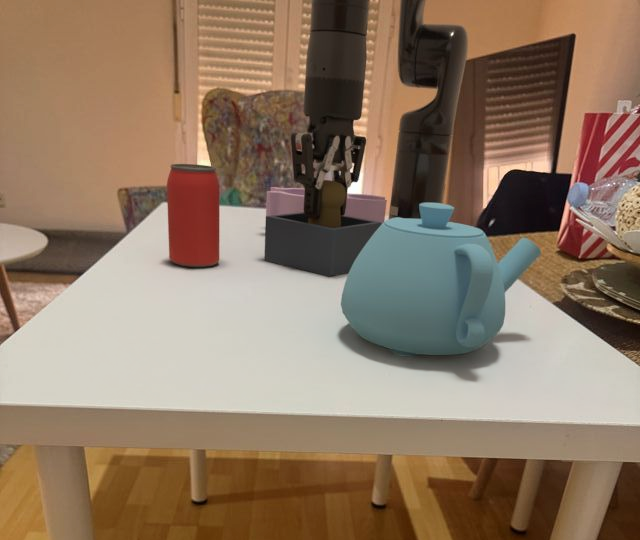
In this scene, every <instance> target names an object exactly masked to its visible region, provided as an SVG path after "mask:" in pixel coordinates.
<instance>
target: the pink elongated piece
mask: <svg viewBox="0 0 640 540" xmlns="http://www.w3.org/2000/svg"><path fill="white" fill-rule="evenodd" d="M304 194H305V188H304V187H277V186H270V190H268V191H266V202H265V203H266V204H265V217H266V216H272V215H281V214H290V213H300V212H304ZM387 202H388V201H387V199H386V197H385V196H380V195H374V194H363V193H348V192H347V202H346V209H345V214H344V215H343V216H349V217H354V218H360V219H365V220H371V221H376V222H381V223H384V222H385V221H386V220H385V219H386V210H387V204H388V203H387Z"/></svg>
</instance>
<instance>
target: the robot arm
mask: <svg viewBox="0 0 640 540" xmlns="http://www.w3.org/2000/svg"><path fill="white" fill-rule="evenodd" d="M370 1H371V0H311V3H310V4H311V5H310V21H309V22H310V24H309V25H310V26H309V39H308V43H307V50H306V61H305V77H304V78H305V79H304V97H303V114H304V115H305V116H306V117H308V118H309V121H308V125H307V128H306V131H305V132H292V133H291V135H290V146H291V159H292V172H293V174H292V175H293V180H294V182H295V183H298V184H300V185H302V188H305V194H304V215H305V217H307V218H312V219H318V218H319V217H320V211H321V197H322V190H320V189H321V187H322V184H323V180H325V176H326V174H328V173H329V172H330V175H331V181H335V182H338V183H340V184H342V185H343V186H344V188H345V193H346V195H345V201H344V203H343V205H342V206H341V207H340V212H341V216H343V215H344V214H345V209H346V202H347V193H348V189H349V188H351V186H352V184H353V183H358V181H359V180H360V176H361V175H360V174H361V171H362V170H361V169H362V165H363V161H364V156H365V151H366V146H367V137H366V136H361V135H356V134H355V130H354V121H359V120H360V119H361V118H362V114H363V104H364V91H365V80H366V70H367V59H368V57H367V56H368V55H367V54H368V53H367V36H368V25H369V13H370V3H371V2H370ZM426 1H427V0H400V1H399V2H400V3H399V18H398V19H399V20H398V35H397V74H398V78H399V81H400V83H401V85H402V86H404V87H406V88H411V89H423V90H437V91H436V94H435V96H434V98H433V99H432V100H431V101H429V102H428V103H426V104H425V105H423V106H421V107H419V108H416V109H413V110H409V111H406V112H404V113H403V114H402V115H401V116H400V118H399V125H398V127H399V128H398V135H397V143H396V144H397V145H396V152H395V161H394V171H393V176H392V177H393V178H392V186H391V195H390V204H389V209H388V210H389V211H388V219H387V220H389V219H391V218H396V217H399V218H411V219H421V215H420V210H419V204H421V203H441V204H444V196H445V190H446V179H447V173H448V172H447V171H448V166H449V160H450V152H451V145H452V139H453V134H454V127H455V121H456V118H457V117H456V116H457V112H458V111H457V110H458V104H459V98H460V92H461V88H462V84H463V77H464V73H465V69H466V65H467V64H466V63H467V58H468V49H469V37H468V33H467V30H466V28H465V27H464V26H463V25H460V24H446V23H445V24H444V23H443V24H442V23H425V22H424V15H425V14H424V13H425V7H426ZM302 165H303V166H304V172H303V167H302ZM351 169H352V172H351ZM315 172H316V173H315ZM315 174H316V175H315Z"/></svg>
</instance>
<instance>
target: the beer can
mask: <svg viewBox="0 0 640 540" xmlns="http://www.w3.org/2000/svg"><path fill="white" fill-rule="evenodd" d="M166 200H167V201H166V202H167V229H168V259H169V260H170V261H171V262H172V263H174V264H175V265H178V266H181V267H187V268H209V267H213V266H215V265H216V264H218V263H219V261H220V183H219V179H218V176H217V173H216V167H214V166H212V165H204V164H193V163H173V164H171V165H170V171H169V174H168V176H167V181H166Z"/></svg>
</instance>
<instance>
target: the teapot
mask: <svg viewBox="0 0 640 540" xmlns="http://www.w3.org/2000/svg"><path fill="white" fill-rule="evenodd" d="M419 210H420V215H421V219H411V218H399V217H396V218H391V219H389V218H388V219H389V220H388V219H387V220H384V223H382V225H381V226H380V227H379V228H378V229H377V230H376V231H375V233H374V234H373V235H372V237H371V238H370V239H369V241H368V242H367V243H366V245H365V246H364V248H363V249H362V250H361V252H360V253H359V255H358V256H357V258H356V260H355V261H354V263H353V265H352V267H351V269H350V271H349V272H348V274H347V276H346V279H345V282H344V286H343V290H342V293H341V299H340V307H341V311H342V314H343V315H344V317H345V319H346V320H347V322H348V323H349V325H350V327H352V329H353V330H354V331H355V333H356V334H357V335H358V336H359V337H361V338H362V339H364V340H366V341H368V342H370V343H372V344H375V345H378V346H381V347H384V348H387V349H391V350H390V351H391V353H392V354H394V355H397V356H401V357H413V356H417V355H418V354H419V355H431V356H449V355H451V356H453V355H461V354H466V353H467V354H468V353H471V352H474V351H477V350H478V349H480V348H481V347H483V345H485V344H487V343H488V342H489V341H491V340H492V339H493V338H495V336H497V334H498V333H500V331H501V329H502V328H503V326H504V324H505V323H504V322H505V319H506V292H507V291H508V290H509V289H510V288H511V287H512V286H513V285H514V284H515V283H516V282H517V280H518V279H520V277H522V275H523V274H525V272H526V271H527V270H528V269H529V268H530V267H531V266H532V265H533V263H534V262H535V261H536V260H537V259H538V258H539V257H540V256H541V255H542V251H541V249H540V248H539V247H538V245H537V244H536V243H534V242H533V241H532V240H530V239H529V238H526V237H521V238H520V239H519V240H518V241H517V242H516V243H515V244H514V246H513V247H511V249H510V250H509V251H508V252H507V253H506V254H505V255H504V256H503V257H502V258H501V259H500V261H498V260H497V258H496V254H495V251H494V249H493V247H492V244H491V243H490V241H489V238H488V236H487V235H486V233H485V232H484V231H483V230H482V229H481V228H479V227H475V226H472V225H469V224H464V223H460V222H452V221H450V220H451V217H452V215H453V213H454V211H455V207H454V206H452V205H450V204H446V203H443V204H441V203H421V204H419Z"/></svg>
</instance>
